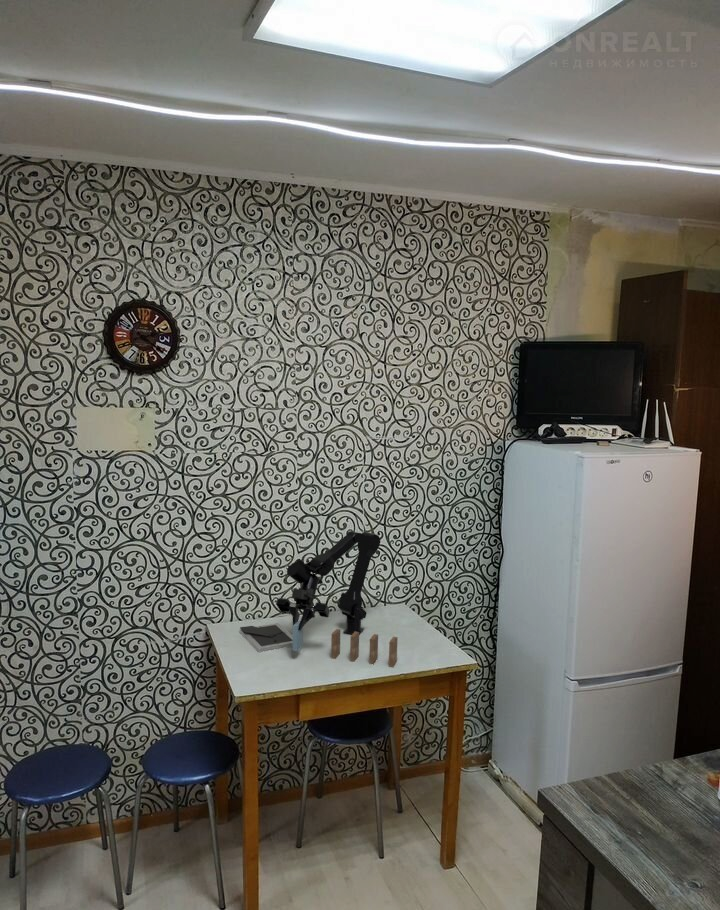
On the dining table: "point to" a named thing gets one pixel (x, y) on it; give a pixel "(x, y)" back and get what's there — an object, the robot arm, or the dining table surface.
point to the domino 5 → (393, 651)
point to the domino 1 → (297, 637)
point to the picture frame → (267, 637)
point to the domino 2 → (335, 644)
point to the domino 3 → (354, 646)
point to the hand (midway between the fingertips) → (296, 629)
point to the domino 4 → (373, 649)
